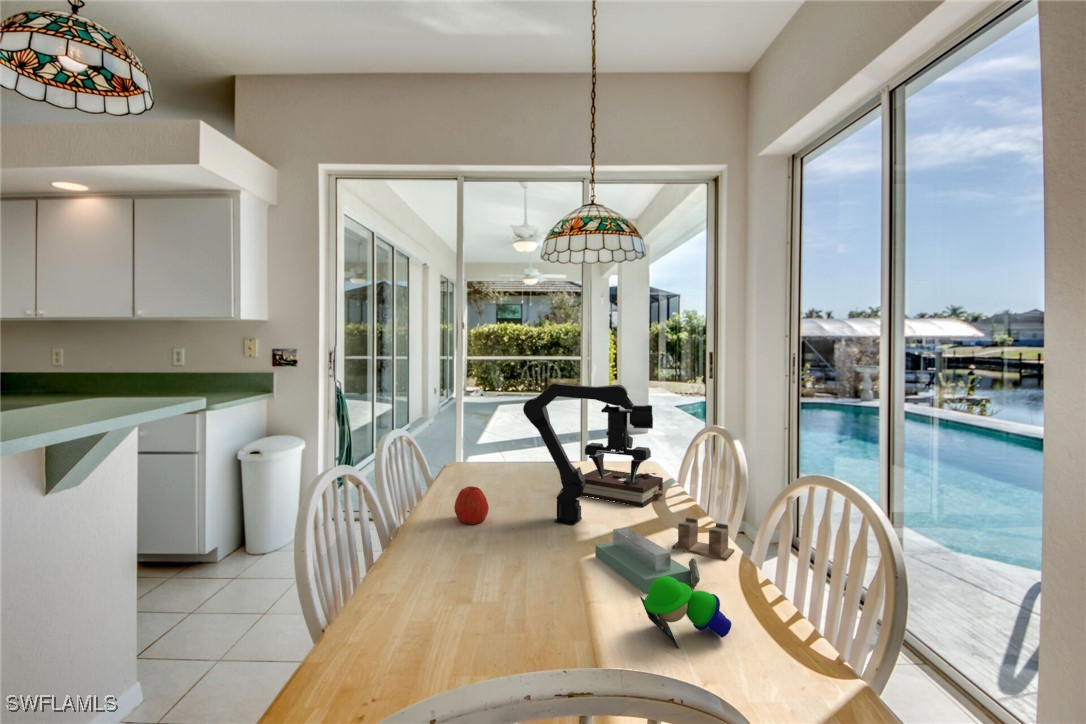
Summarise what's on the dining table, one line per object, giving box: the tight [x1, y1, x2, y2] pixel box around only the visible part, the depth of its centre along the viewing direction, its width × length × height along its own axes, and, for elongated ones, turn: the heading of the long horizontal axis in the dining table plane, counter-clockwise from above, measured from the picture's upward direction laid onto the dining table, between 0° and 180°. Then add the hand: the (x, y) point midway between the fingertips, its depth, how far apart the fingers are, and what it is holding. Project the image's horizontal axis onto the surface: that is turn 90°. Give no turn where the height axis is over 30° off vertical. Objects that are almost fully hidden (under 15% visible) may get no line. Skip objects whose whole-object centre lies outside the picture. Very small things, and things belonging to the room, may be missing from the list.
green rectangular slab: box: [595, 541, 692, 594], centre depth 130 cm, size 22×12×3 cm, turn 24°
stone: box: [688, 558, 701, 589], centre depth 125 cm, size 13×2×5 cm, turn 171°
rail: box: [612, 526, 672, 573], centre depth 130 cm, size 18×4×4 cm, turn 24°
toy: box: [639, 576, 732, 649], centre depth 101 cm, size 10×11×15 cm
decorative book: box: [581, 468, 666, 508], centre depth 193 cm, size 19×8×30 cm
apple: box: [453, 485, 489, 525], centre depth 165 cm, size 10×10×10 cm
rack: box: [671, 516, 735, 561], centre depth 142 cm, size 14×7×7 cm, turn 56°
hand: (617, 480), depth 162 cm, fingers open, 9 cm apart
